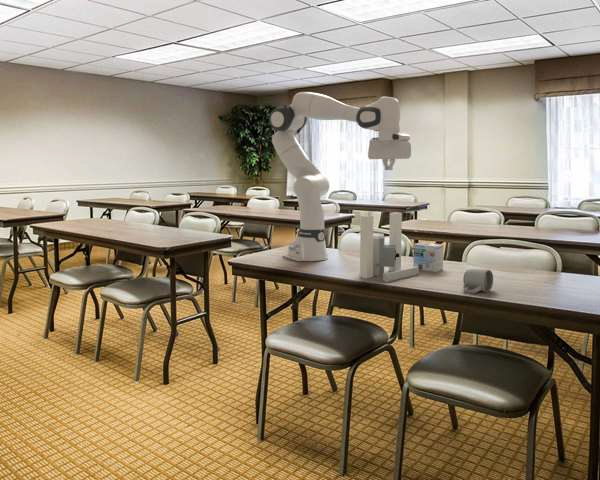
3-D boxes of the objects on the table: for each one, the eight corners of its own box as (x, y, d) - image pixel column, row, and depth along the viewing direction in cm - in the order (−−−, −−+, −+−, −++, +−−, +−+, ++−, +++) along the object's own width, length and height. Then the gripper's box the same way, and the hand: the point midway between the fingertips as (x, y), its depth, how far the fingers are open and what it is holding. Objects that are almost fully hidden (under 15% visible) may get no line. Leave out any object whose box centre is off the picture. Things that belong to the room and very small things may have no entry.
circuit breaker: (398, 276, 209) (399, 238, 207) (362, 275, 212) (362, 237, 210) (399, 272, 216) (399, 236, 214) (364, 271, 219) (364, 235, 217)
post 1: (360, 277, 208) (360, 216, 205) (365, 275, 211) (366, 215, 207) (366, 278, 206) (367, 216, 202) (372, 277, 208) (373, 216, 205)
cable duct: (382, 281, 201) (383, 273, 200) (414, 273, 214) (414, 266, 214) (387, 281, 199) (387, 274, 199) (418, 274, 213) (418, 266, 212)
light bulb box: (412, 268, 224) (413, 243, 222) (420, 266, 228) (421, 241, 227) (435, 272, 216) (436, 246, 215) (443, 269, 221) (444, 244, 220)
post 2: (388, 270, 220) (389, 212, 217) (394, 269, 223) (395, 212, 219) (395, 271, 218) (396, 213, 214) (400, 270, 220) (401, 212, 217)
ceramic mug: (471, 286, 192) (471, 265, 190) (493, 289, 186) (494, 268, 185) (457, 292, 184) (457, 270, 183) (479, 296, 178) (480, 273, 177)
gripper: (364, 137, 227) (364, 170, 229) (404, 135, 212) (403, 170, 214) (374, 137, 231) (374, 170, 233) (413, 135, 216) (412, 170, 218)
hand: (388, 170), depth 223 cm, fingers closed
